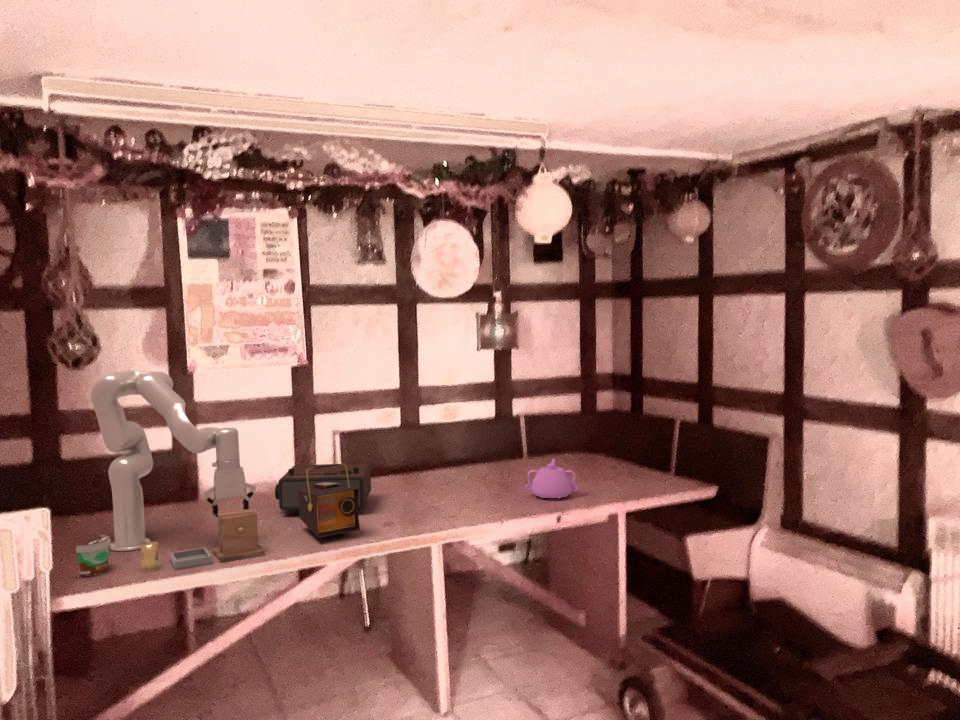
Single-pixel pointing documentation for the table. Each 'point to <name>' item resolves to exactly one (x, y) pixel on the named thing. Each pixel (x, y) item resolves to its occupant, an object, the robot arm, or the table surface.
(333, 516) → the vintage portable radio
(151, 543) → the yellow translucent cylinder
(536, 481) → the purple lidded pot
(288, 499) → the radio receiver
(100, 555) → the food container
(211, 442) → the robot arm
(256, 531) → the mounted unit
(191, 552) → the tray
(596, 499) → the table surface
